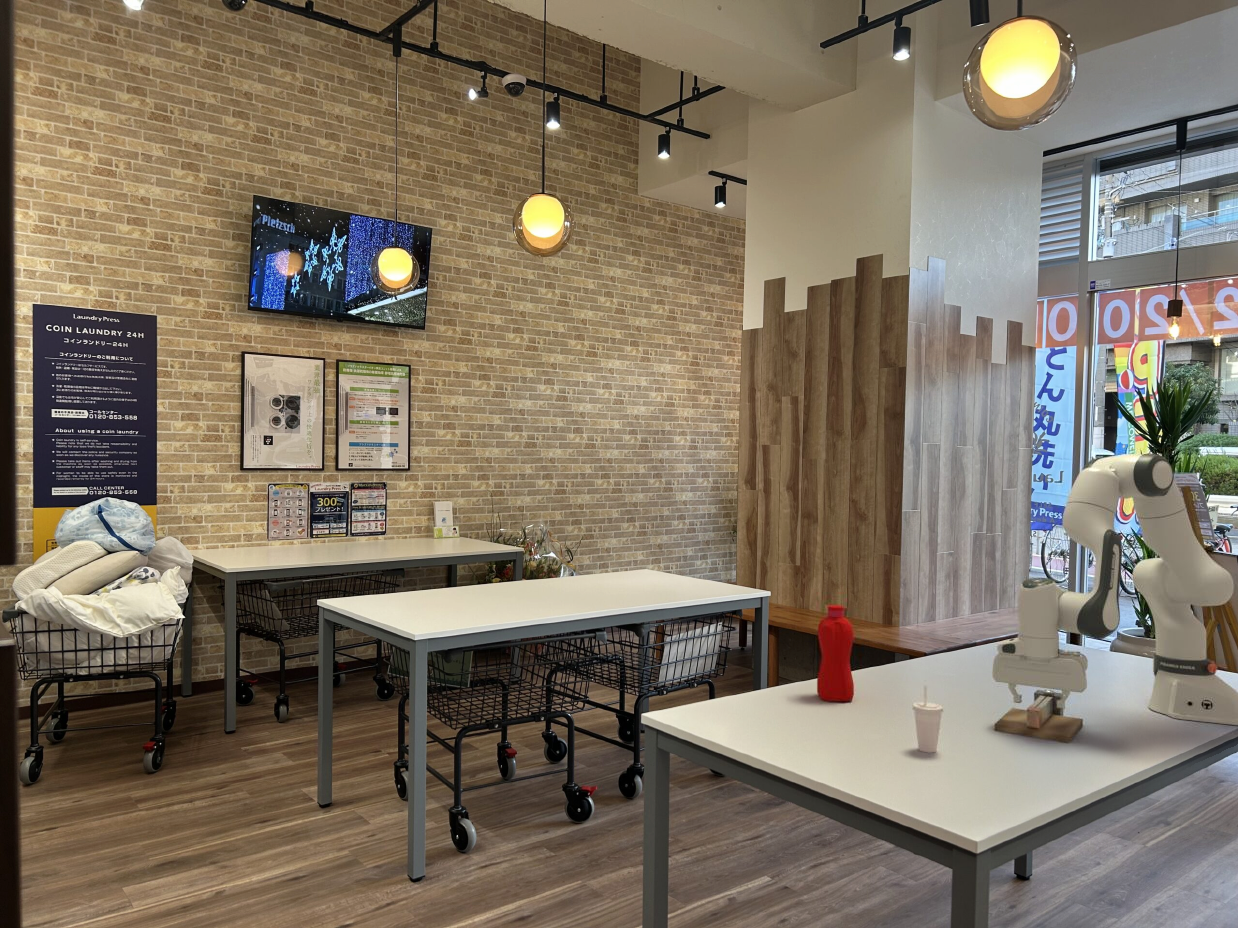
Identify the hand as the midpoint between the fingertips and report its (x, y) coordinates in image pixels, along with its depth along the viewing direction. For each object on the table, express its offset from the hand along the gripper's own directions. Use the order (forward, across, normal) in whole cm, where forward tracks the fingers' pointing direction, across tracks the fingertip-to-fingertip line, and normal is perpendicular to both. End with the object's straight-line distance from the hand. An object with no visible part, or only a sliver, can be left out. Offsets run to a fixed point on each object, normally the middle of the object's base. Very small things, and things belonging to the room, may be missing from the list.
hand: (1039, 705), depth 209 cm
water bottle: (+6, +50, +1) cm, 51 cm away
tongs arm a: (+4, 0, -3) cm, 5 cm away
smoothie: (+5, +17, +31) cm, 36 cm away
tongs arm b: (+4, +1, -3) cm, 5 cm away
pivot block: (+6, 0, -14) cm, 15 cm away
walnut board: (+6, 0, -2) cm, 7 cm away
